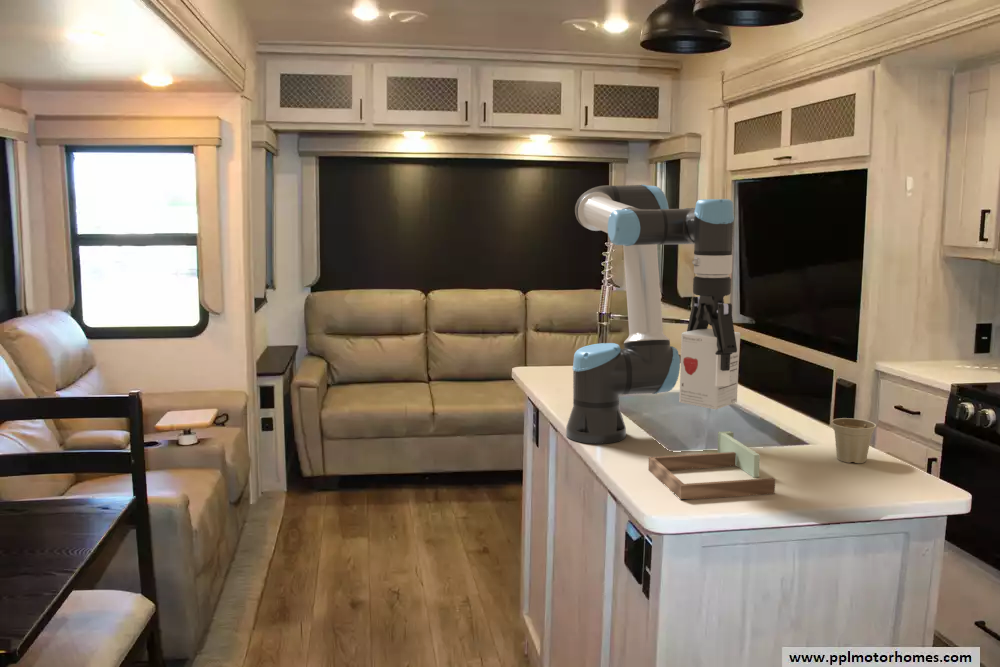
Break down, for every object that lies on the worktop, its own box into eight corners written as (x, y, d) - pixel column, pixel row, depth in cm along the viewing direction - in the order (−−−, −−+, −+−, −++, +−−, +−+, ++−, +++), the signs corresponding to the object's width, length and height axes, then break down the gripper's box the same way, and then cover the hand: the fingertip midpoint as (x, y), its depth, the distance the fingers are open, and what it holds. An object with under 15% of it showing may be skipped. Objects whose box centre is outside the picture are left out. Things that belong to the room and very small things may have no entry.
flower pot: (836, 451, 191) (838, 415, 189) (878, 458, 185) (881, 422, 183) (823, 460, 184) (825, 424, 182) (867, 468, 178) (869, 431, 176)
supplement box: (677, 402, 168) (679, 332, 166) (700, 395, 174) (702, 327, 172) (716, 410, 162) (719, 337, 159) (738, 402, 168) (741, 331, 165)
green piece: (717, 452, 191) (718, 431, 190) (730, 451, 191) (730, 431, 190) (753, 477, 173) (754, 455, 172) (767, 476, 173) (768, 454, 172)
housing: (648, 470, 178) (648, 457, 178) (733, 464, 181) (733, 451, 181) (680, 500, 160) (681, 485, 159) (774, 493, 163) (775, 479, 162)
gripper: (672, 271, 175) (670, 368, 178) (720, 281, 151) (717, 393, 155) (704, 270, 176) (701, 366, 180) (758, 280, 152) (753, 391, 156)
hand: (708, 379), depth 167 cm, fingers closed on supplement box, 12 cm apart
